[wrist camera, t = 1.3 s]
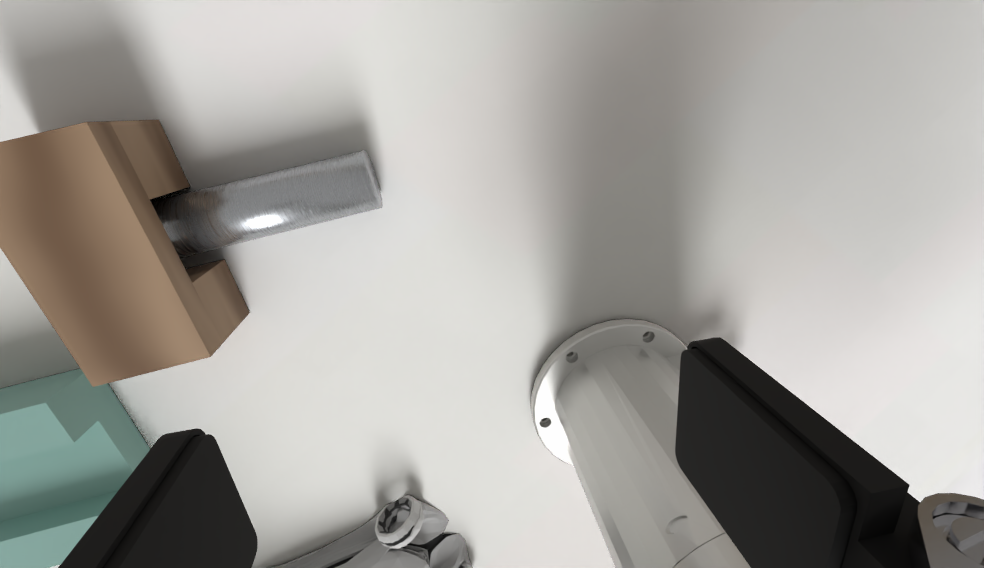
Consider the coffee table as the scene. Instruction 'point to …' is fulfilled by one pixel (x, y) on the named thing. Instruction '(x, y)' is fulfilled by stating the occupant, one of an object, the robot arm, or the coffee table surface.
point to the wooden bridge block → (110, 249)
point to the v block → (59, 464)
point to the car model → (394, 542)
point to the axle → (270, 203)
